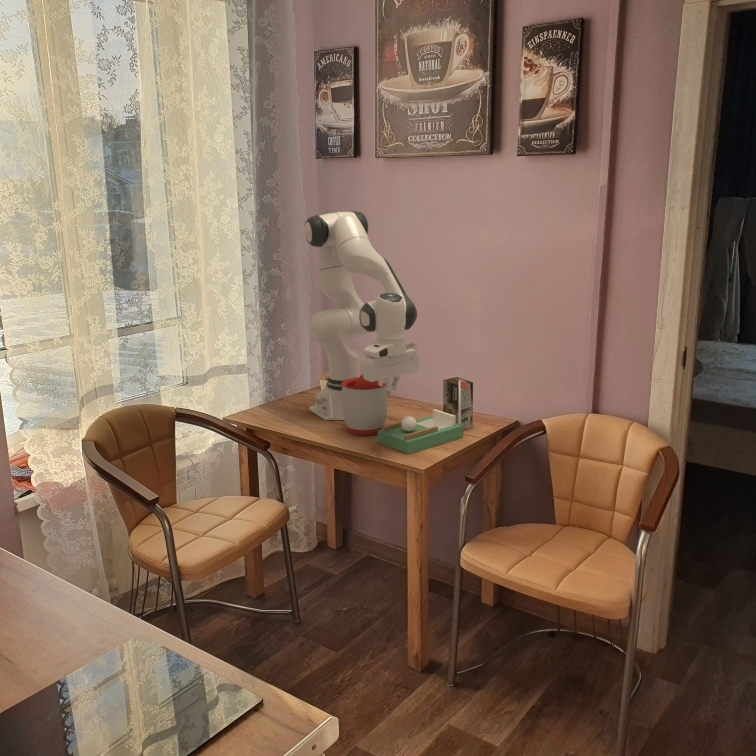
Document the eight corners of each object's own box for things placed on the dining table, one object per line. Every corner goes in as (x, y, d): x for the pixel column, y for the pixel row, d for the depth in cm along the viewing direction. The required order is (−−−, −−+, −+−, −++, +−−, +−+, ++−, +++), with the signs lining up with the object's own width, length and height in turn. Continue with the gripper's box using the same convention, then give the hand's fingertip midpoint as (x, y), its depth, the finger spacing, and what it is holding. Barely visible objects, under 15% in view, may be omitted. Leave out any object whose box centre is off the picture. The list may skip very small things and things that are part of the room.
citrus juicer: (401, 431, 262) (401, 374, 257) (358, 441, 253) (356, 382, 248) (376, 419, 275) (375, 365, 270) (333, 429, 265) (332, 372, 260)
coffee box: (473, 427, 265) (474, 382, 260) (458, 431, 261) (458, 385, 257) (457, 420, 272) (457, 376, 268) (442, 424, 269) (442, 379, 265)
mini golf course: (377, 442, 252) (376, 385, 247) (431, 426, 267) (431, 372, 262) (412, 456, 239) (412, 396, 234) (467, 438, 254) (468, 382, 249)
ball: (398, 431, 250) (397, 416, 249) (409, 427, 253) (409, 413, 252) (408, 435, 246) (408, 420, 245) (420, 431, 249) (420, 416, 248)
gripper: (410, 340, 247) (410, 382, 250) (359, 350, 234) (360, 394, 238) (423, 343, 242) (423, 386, 245) (372, 353, 229) (373, 398, 233)
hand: (391, 390), depth 242 cm, fingers closed
